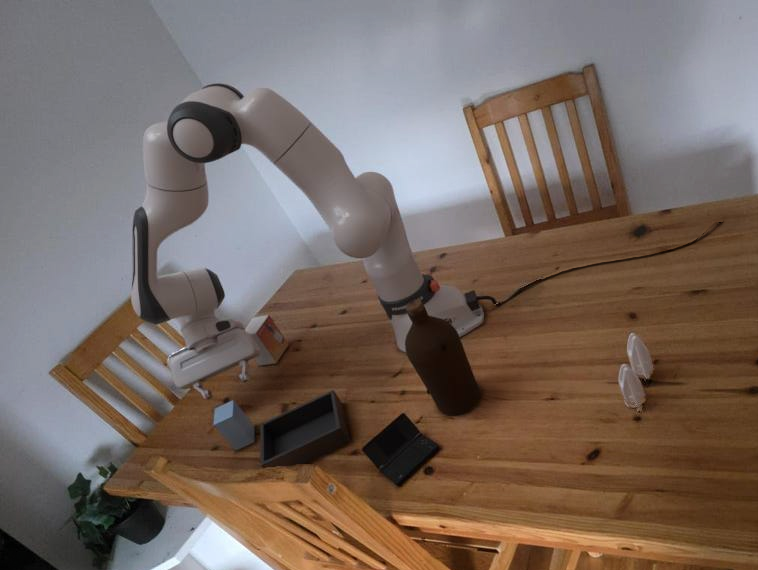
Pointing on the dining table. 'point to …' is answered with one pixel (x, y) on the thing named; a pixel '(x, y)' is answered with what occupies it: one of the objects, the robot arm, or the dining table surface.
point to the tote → (304, 432)
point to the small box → (267, 339)
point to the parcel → (234, 425)
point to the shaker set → (634, 371)
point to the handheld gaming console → (399, 449)
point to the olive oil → (440, 361)
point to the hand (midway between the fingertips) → (227, 389)
